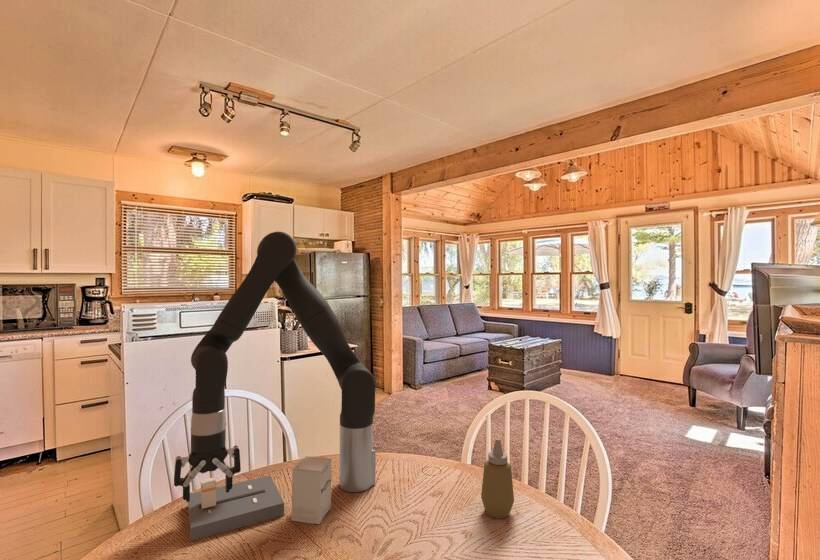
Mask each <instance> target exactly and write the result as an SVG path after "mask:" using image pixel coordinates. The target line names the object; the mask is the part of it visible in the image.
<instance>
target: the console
mask: <svg viewBox="0 0 820 560" xmlns="http://www.w3.org/2000/svg"><path fill="white" fill-rule="evenodd" d="M187 508H188V510H187V511H188V521H189V522H188V523H189V535H190V537H189V538H190V542H195V541H198V540H201V539H205V538H208V537H211V536H215V535H219V534H224V533H227V532H229V531H232V530H237V529H241V528H245V527H247V526H251V525H254V524H255V525H256V524H257V523H261V522H264V521H269V520H272V519H275V518H279V517H281V516H285V502H284V500H283V498H282V495H281V494H280V492H279V490H278V488H277V485H276V484H275V482H274V480H273V478H272V476H271V475H266V476H261V477H257V478H251V479H247V480H244V481H240V482H235V483H232V489H230V491H229V492H227V493H226V489H225V485H222V486H218V487H217V486H216V506H212V507H208V508H204V509H202V506H201V490H200V491H196V492H190V502H187Z"/></svg>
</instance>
